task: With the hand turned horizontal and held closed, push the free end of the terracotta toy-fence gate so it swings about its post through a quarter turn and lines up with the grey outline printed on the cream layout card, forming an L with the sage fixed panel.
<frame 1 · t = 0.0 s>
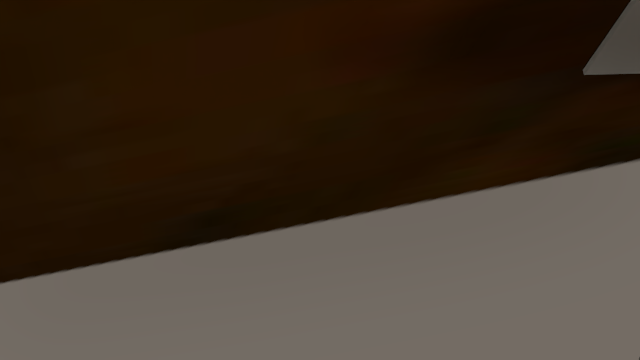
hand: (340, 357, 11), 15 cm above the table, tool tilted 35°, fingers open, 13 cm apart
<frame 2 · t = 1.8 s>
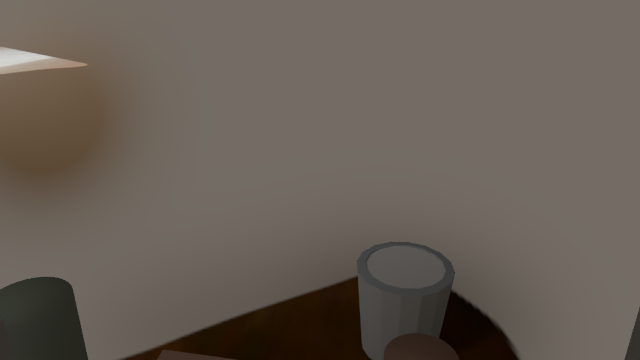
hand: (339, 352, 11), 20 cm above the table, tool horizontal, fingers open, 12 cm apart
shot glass: (398, 345, 41), on the table
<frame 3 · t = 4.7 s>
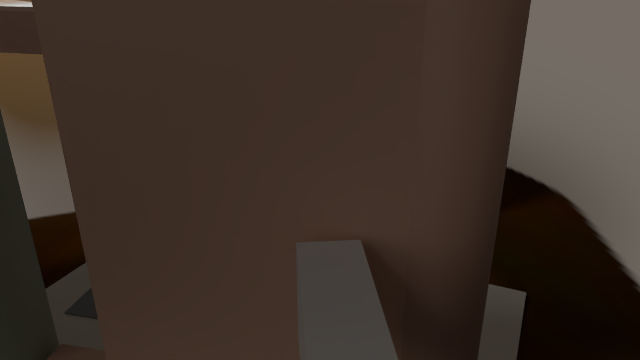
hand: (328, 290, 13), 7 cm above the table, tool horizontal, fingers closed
gate panel: (231, 210, 14), point 8 cm above the table, hinge at 1.3°, touching gripper
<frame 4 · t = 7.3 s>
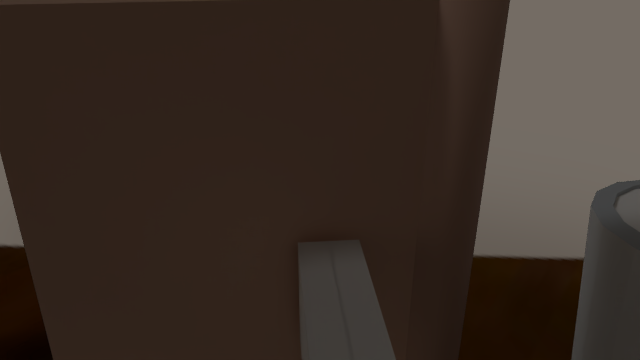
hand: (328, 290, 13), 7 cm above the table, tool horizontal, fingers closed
gate panel: (221, 235, 13), point 8 cm above the table, hinge at 55.7°, touching gripper
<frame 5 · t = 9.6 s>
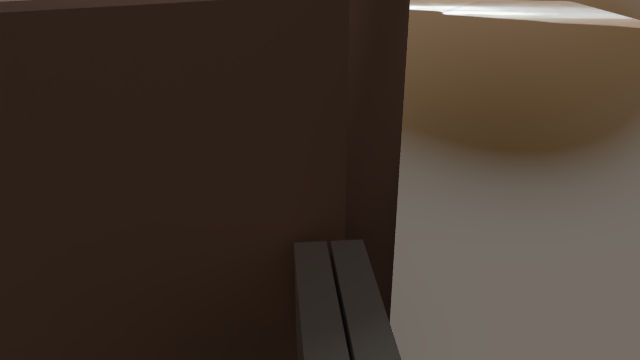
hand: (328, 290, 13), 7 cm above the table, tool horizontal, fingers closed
gate panel: (142, 265, 12), point 8 cm above the table, hinge at 100.9°, touching gripper
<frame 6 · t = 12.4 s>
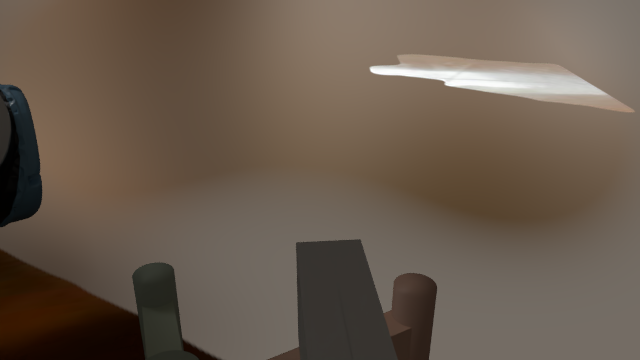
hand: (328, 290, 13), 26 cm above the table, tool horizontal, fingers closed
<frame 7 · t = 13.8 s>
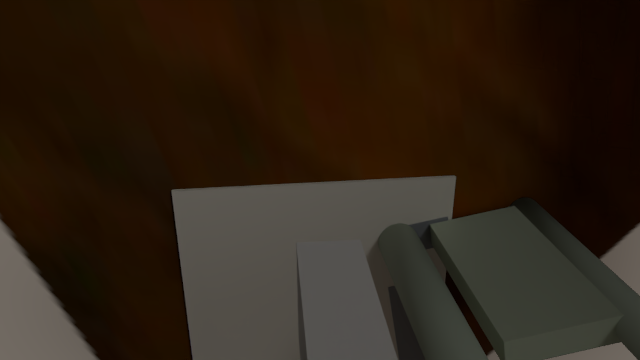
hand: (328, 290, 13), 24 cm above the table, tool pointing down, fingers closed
fence post and fixed panel: (396, 239, 41), on the table
layout card: (317, 289, 42), on the table
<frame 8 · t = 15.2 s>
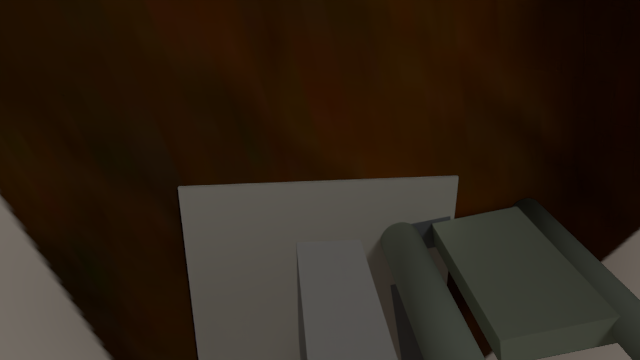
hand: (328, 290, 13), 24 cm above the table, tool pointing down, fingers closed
fence post and fixed panel: (399, 237, 41), on the table
layout card: (321, 285, 42), on the table
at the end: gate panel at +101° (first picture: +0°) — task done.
